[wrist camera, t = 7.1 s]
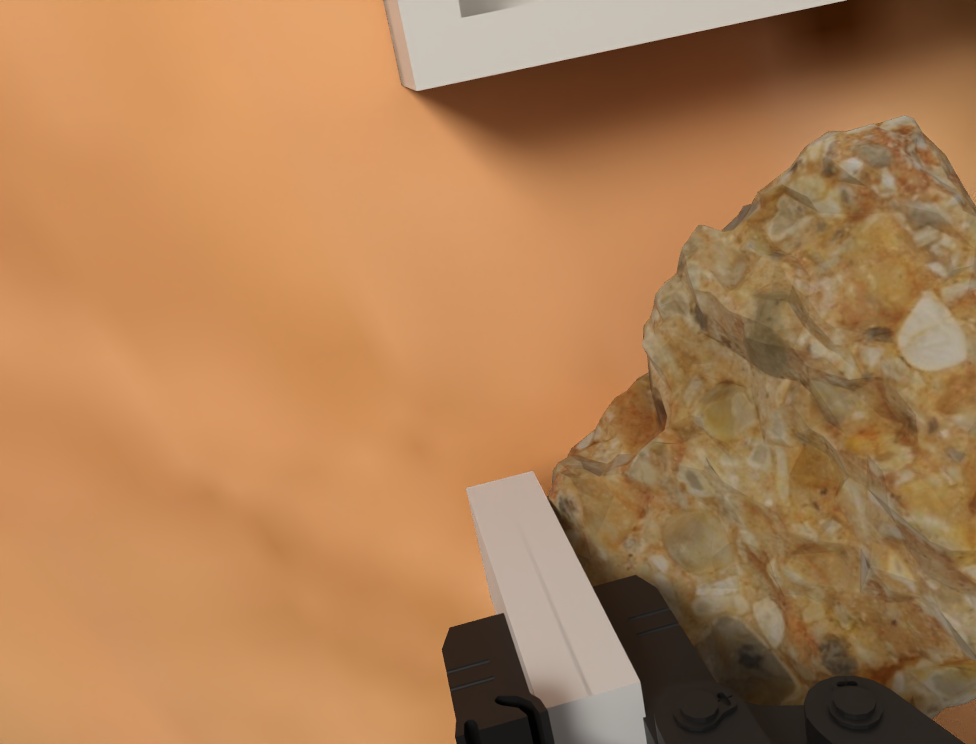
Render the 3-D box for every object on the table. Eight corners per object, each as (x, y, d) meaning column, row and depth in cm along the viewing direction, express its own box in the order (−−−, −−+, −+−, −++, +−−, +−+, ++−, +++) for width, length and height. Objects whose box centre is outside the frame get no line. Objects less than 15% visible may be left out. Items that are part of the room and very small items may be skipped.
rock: (924, 501, 24) (1308, 786, 15) (574, 639, 23) (741, 1027, 14) (862, 59, 19) (1363, 68, 10) (424, 219, 19) (526, 385, 9)
